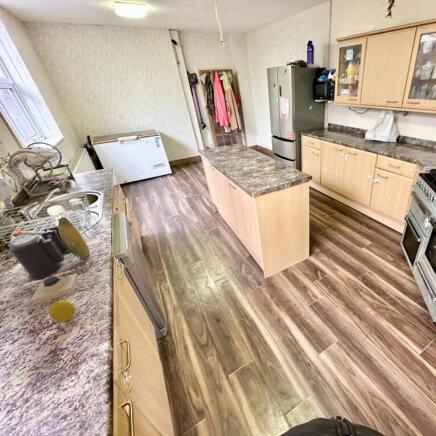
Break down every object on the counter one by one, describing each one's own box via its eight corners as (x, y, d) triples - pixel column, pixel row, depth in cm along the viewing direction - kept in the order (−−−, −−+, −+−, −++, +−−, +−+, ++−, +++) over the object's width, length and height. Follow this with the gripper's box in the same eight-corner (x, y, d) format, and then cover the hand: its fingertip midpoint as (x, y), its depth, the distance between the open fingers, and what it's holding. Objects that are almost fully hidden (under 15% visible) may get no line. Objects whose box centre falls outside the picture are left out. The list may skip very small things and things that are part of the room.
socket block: (34, 304, 80) (27, 296, 78) (42, 288, 87) (36, 280, 85) (73, 292, 85) (68, 284, 83) (79, 277, 92) (73, 269, 90)
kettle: (26, 284, 90) (-1, 251, 82) (35, 269, 97) (11, 238, 90) (65, 272, 95) (42, 241, 87) (71, 259, 102) (51, 229, 94)
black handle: (43, 261, 102) (26, 239, 96) (49, 250, 109) (34, 229, 103) (77, 252, 107) (63, 230, 101) (81, 242, 114) (68, 221, 108)
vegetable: (95, 255, 104) (73, 216, 94) (79, 264, 99) (53, 224, 89) (89, 252, 107) (66, 213, 97) (73, 260, 102) (47, 220, 92)
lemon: (53, 325, 73) (38, 308, 69) (71, 311, 77) (58, 294, 73) (66, 329, 71) (52, 311, 67) (84, 314, 76) (71, 296, 72)
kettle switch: (12, 237, 96) (12, 232, 95) (18, 232, 99) (17, 227, 99) (54, 238, 102) (54, 233, 102) (57, 233, 106) (57, 228, 105)
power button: (44, 288, 82) (41, 284, 81) (47, 281, 85) (45, 278, 84) (57, 284, 84) (54, 280, 83) (60, 278, 86) (57, 274, 86)
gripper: (-16, 173, 92) (6, 204, 99) (-49, 189, 77) (-20, 225, 83) (6, 170, 95) (26, 201, 102) (-22, 185, 79) (4, 220, 86)
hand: (5, 212), depth 92 cm, fingers open, 8 cm apart
